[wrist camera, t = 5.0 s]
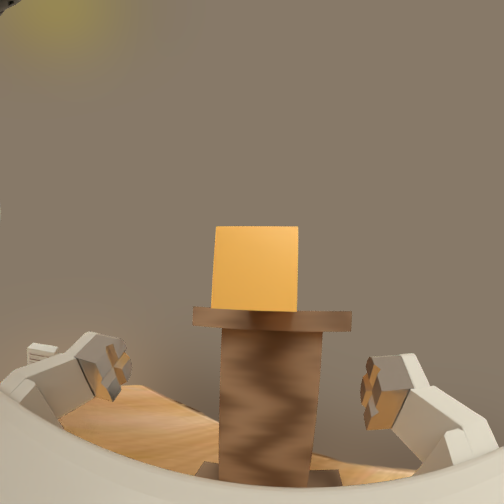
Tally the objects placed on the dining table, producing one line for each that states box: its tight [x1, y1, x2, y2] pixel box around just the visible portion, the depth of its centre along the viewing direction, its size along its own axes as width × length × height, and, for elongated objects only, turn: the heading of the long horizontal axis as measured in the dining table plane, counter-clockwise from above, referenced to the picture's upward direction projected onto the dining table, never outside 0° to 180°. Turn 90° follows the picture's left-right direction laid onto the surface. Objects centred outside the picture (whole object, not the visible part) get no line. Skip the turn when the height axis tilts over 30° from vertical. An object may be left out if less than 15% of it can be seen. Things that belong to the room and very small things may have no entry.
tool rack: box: [193, 307, 352, 488], centre depth 26 cm, size 20×17×26 cm
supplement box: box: [27, 343, 59, 365], centre depth 48 cm, size 7×7×13 cm
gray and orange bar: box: [211, 226, 298, 312], centre depth 24 cm, size 3×26×3 cm, turn 172°
